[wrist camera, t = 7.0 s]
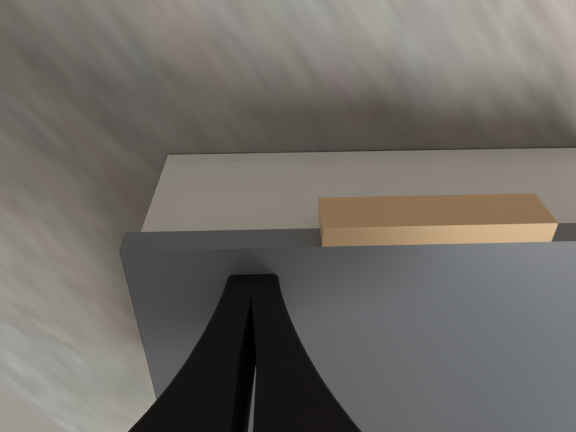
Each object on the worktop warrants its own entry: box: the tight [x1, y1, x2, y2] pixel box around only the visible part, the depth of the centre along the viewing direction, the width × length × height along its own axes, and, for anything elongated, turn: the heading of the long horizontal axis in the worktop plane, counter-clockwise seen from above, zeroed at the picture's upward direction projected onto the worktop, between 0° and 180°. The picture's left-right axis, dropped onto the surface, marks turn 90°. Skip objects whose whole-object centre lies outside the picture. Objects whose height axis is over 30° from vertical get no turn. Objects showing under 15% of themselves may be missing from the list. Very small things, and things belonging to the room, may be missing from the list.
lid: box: [119, 193, 576, 432], centre depth 17 cm, size 13×16×1 cm
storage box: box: [141, 148, 576, 232], centre depth 20 cm, size 12×16×5 cm
